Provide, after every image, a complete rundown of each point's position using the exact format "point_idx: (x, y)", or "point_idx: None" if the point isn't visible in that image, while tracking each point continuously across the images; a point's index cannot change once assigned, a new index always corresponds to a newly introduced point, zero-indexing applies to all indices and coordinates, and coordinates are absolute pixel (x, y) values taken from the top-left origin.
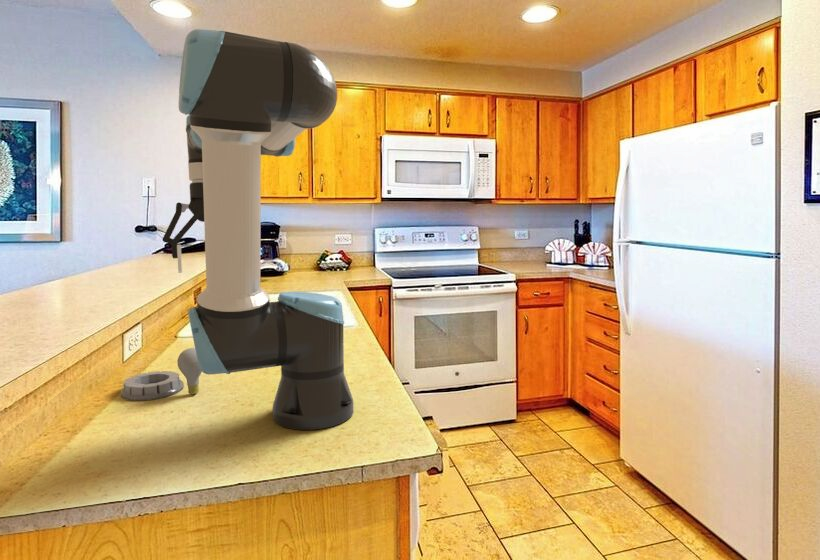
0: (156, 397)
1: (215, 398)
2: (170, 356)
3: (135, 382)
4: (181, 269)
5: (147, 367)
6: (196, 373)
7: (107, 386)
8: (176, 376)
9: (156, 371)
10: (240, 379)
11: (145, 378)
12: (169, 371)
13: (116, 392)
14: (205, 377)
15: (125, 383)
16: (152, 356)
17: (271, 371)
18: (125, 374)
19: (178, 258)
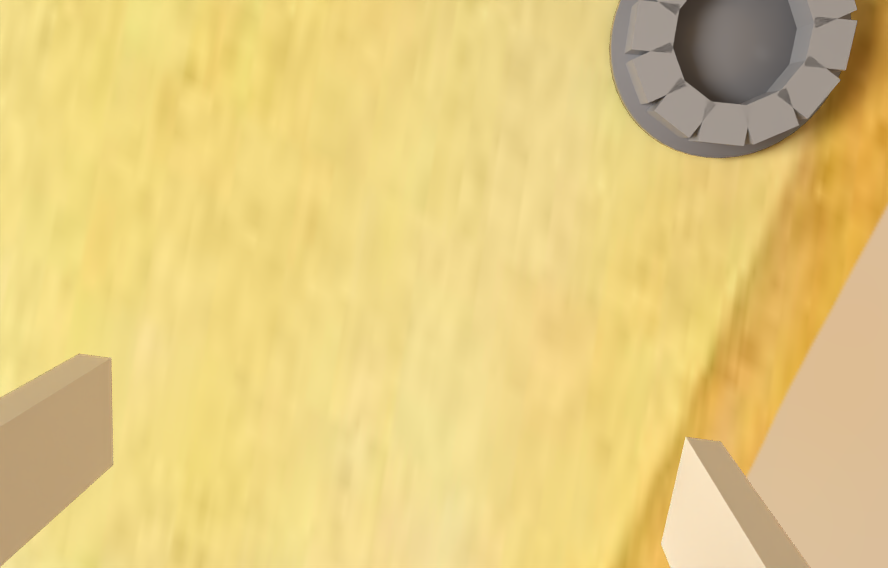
0: None
1: None
2: (597, 487)
3: (811, 16)
4: (698, 454)
5: (700, 374)
6: None
7: (871, 190)
8: (647, 19)
9: (711, 141)
10: (390, 15)
11: (757, 98)
12: (662, 114)
13: (850, 92)
14: (513, 117)
15: (850, 20)
16: (662, 522)
17: (255, 63)
18: (789, 319)
19: (778, 538)
